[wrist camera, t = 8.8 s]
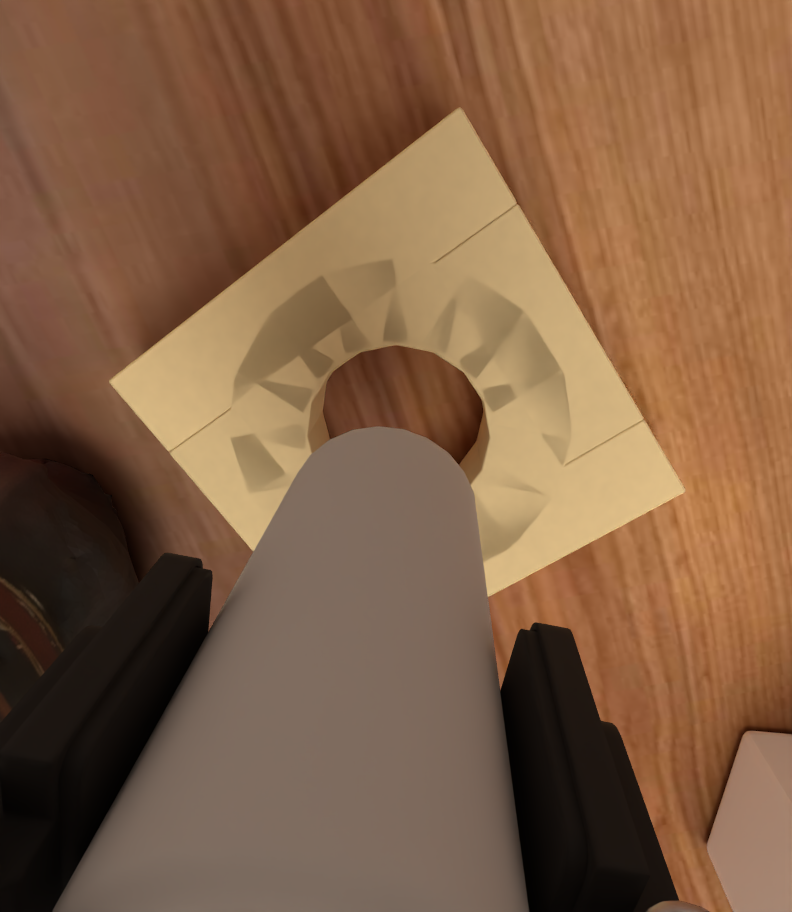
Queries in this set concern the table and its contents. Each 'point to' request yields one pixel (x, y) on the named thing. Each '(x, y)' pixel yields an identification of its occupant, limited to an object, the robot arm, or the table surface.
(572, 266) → the table surface
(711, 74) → the table surface
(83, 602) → the coffee grinder
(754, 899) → the container
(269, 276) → the socket pad
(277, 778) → the beverage can
